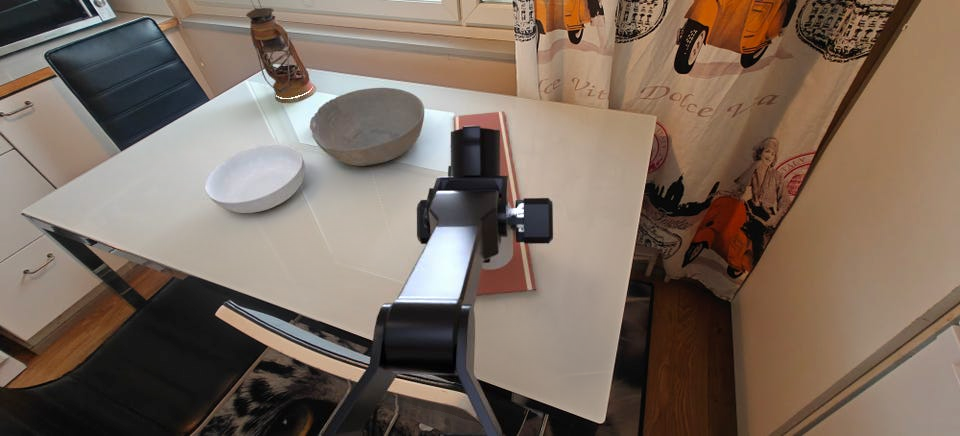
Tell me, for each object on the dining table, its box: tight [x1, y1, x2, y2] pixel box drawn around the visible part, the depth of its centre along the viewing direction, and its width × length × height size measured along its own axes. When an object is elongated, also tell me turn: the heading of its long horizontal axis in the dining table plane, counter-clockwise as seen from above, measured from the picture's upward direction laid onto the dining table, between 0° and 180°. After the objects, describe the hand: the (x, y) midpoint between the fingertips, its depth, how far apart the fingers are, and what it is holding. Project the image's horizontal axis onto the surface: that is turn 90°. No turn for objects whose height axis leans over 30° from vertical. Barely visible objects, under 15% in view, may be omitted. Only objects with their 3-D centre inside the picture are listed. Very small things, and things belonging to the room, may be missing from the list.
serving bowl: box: [204, 143, 306, 214], centre depth 92 cm, size 21×21×7 cm
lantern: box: [245, 0, 317, 104], centre depth 121 cm, size 17×13×30 cm
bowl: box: [309, 87, 425, 167], centre depth 102 cm, size 28×28×10 cm
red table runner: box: [453, 111, 537, 296], centre depth 91 cm, size 60×14×1 cm, turn 3°
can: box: [482, 202, 513, 270], centre depth 64 cm, size 8×8×12 cm
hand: (489, 221), depth 65 cm, fingers closed on can, 7 cm apart
